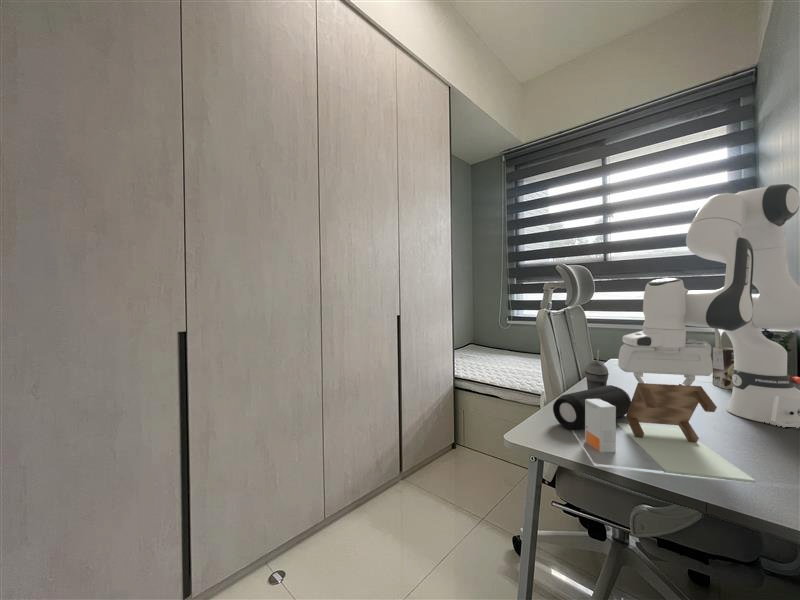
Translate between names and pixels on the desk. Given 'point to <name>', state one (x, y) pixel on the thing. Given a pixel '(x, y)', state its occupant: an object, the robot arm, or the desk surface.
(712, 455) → the mat
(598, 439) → the skincare box
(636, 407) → the stool
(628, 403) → the portable speaker
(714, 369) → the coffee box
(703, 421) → the desk surface
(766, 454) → the desk surface
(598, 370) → the beverage cup
